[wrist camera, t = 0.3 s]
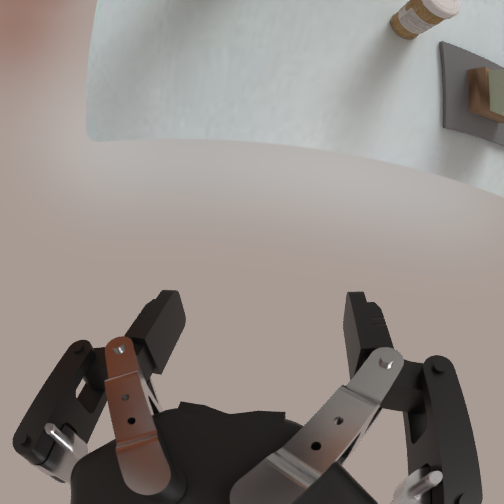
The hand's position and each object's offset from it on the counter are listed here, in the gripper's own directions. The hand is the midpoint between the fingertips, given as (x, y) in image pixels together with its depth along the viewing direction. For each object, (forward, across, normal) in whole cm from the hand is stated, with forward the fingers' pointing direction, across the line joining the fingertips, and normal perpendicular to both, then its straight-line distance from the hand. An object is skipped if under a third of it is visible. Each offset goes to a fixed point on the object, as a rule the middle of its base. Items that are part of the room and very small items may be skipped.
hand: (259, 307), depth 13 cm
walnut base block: (+28, -33, -15) cm, 46 cm away
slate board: (+29, -33, -15) cm, 46 cm away
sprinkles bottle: (+29, -19, -24) cm, 42 cm away
